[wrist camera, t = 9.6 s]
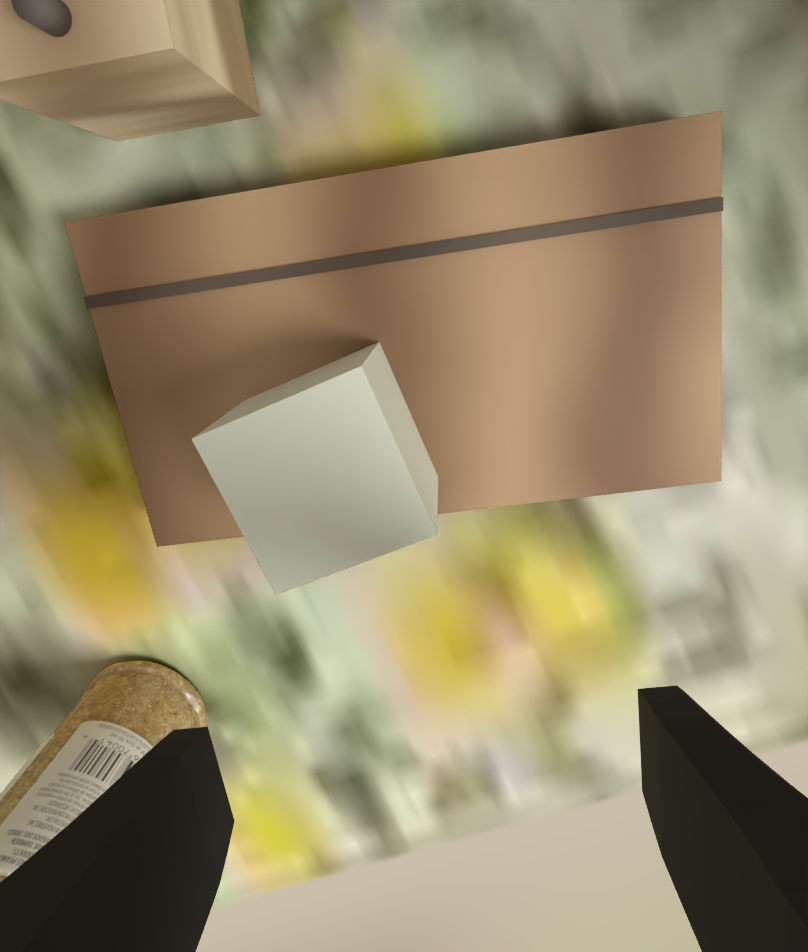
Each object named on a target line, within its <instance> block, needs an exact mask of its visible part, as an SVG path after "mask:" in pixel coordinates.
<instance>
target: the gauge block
mask: <svg viewBox="0 0 808 952" xmlns="http://www.w3.org/2000/svg"><path fill="white" fill-rule="evenodd" d="M0 100H3V101H6V102H9V103H12V104H14V105H17V106H20V107H23V108H26V109H28V110H31V111H34V112H37V113H40V114H43V115H45V116H48V117H51V118H54V119H57V120H59V121H62V122H65V123H68V124H71V125H73V126H76V127H79V128H82V129H85V130H88V131H90V132H93V133H96V134H99V135H102V136H104V137H107V138H110V139H113V140H116V141H122V140H128V139H133V138H139V137H144V136H150V135H155V134H161V133H166V132H172V131H177V130H183V129H188V128H194V127H200V126H205V125H211V124H216V123H222V122H227V121H233V120H238V119H244V118H249V117H255V116H261V115H260V110H259V104H258V99H257V94H256V89H255V83H254V78H253V73H252V68H251V63H250V57H249V52H248V47H247V42H246V36H245V31H244V26H243V21H242V15H241V10H240V5H239V0H0Z"/></svg>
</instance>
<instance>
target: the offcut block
mask: <svg viewBox="0 0 808 952" xmlns="http://www.w3.org/2000/svg"><path fill="white" fill-rule="evenodd" d="M192 441H193V443H194V445H195V447H196V449H197V450H198V452H199V454H200V456H201V458H202V460H203V462H204V463H205V465H206V467H207V469H208V471H209V473H210V475H211V476H212V478H213V480H214V482H215V484H216V486H217V488H218V489H219V491H220V493H221V495H222V497H223V499H224V500H225V502H226V504H227V506H228V508H229V510H230V512H231V513H232V515H233V517H234V519H235V521H236V523H237V525H238V526H239V528H240V530H241V532H242V534H243V536H244V538H245V539H246V541H247V543H248V545H249V547H250V549H251V551H252V552H253V554H254V556H255V558H256V560H257V562H258V563H259V565H260V567H261V569H262V571H263V573H264V575H265V576H266V578H267V580H268V582H269V584H270V586H271V588H272V589H273V591H274V593H275V595H277V594H279V593H282V592H285V591H287V590H290V589H293V588H296V587H298V586H301V585H304V584H306V583H309V582H312V581H314V580H317V579H320V578H322V577H325V576H328V575H330V574H333V573H336V572H338V571H341V570H344V569H346V568H349V567H352V566H354V565H357V564H360V563H363V562H365V561H368V560H371V559H373V558H376V557H379V556H381V555H384V554H387V553H389V552H392V551H395V550H397V549H400V548H403V547H405V546H408V545H411V544H413V543H416V542H419V541H422V540H424V539H427V538H430V537H432V536H435V535H437V511H438V475H437V473H436V471H435V468H434V466H433V464H432V462H431V459H430V457H429V455H428V452H427V450H426V448H425V446H424V443H423V441H422V439H421V436H420V434H419V432H418V429H417V427H416V425H415V423H414V420H413V418H412V416H411V413H410V411H409V409H408V406H407V404H406V402H405V400H404V397H403V395H402V393H401V390H400V388H399V386H398V383H397V381H396V379H395V377H394V374H393V372H392V370H391V367H390V365H389V363H388V361H387V358H386V356H385V354H384V351H383V349H382V347H381V344H380V342H378V343H375V344H373V345H371V346H368V347H366V348H364V349H361V350H359V351H357V352H355V353H352V354H350V355H348V356H345V357H343V358H341V359H338V360H336V361H334V362H332V363H329V364H327V365H325V366H322V367H320V368H318V369H315V370H313V371H311V372H309V373H306V374H304V375H302V376H299V377H297V378H295V379H292V380H290V381H288V382H286V383H283V384H281V385H279V386H276V387H274V388H272V389H269V390H267V391H265V392H263V393H260V394H258V395H256V396H253V397H251V398H249V399H246V400H244V401H243V402H242V403H240V404H239V405H237V406H236V407H235V408H233V409H232V410H231V411H229V412H228V413H226V414H225V415H224V416H222V417H221V418H220V419H218V420H217V421H215V422H214V423H213V424H211V425H210V426H209V427H207V428H206V429H204V430H203V431H202V432H200V433H199V434H198V435H196V436H195V437H193V438H192Z"/></svg>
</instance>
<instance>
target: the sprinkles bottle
mask: <svg viewBox="0 0 808 952" xmlns="http://www.w3.org/2000/svg"><path fill="white" fill-rule="evenodd" d="M207 726H208V721H207V711H206V708H205V706H204V702H203V700H202V698H201V695H200V694H199V693H198V691H197V690H196V689H195V687H194V686H193V685H192V684H190V682H189V681H187V680H186V679H184V678H183V677H182V676H181V675H180V674H178V673H176V672H175V671H173V670H171V669H169V668H167V667H165V666H163V665H161V664H157V663H153V662H149V661H126V662H120V663H115V664H112V665H110V666H109V667H107V668H105V669H104V670H102V671H101V672H100V673H98V674H97V675H96V676H95V677H94V678H93V679H92V681H91V682H90V683H89V685H88V686H87V687H86V688H85V690H84V692H83V694H82V697H81V699H80V700H79V701H78V702H77V704H76V705H75V706H74V707H73V709H72V710H71V711H70V713H69V714H68V715H67V716H66V717H65V719H64V720H63V721H62V723H61V724H60V725H59V726H58V728H57V729H56V730H55V732H54V733H53V734H52V735H50V736H49V737H48V738H46V739H45V740H44V741H43V743H42V744H41V745H40V746H39V747H38V748H37V750H36V751H35V752H34V753H33V754H32V756H31V757H30V758H29V759H28V760H27V762H26V763H25V764H24V765H23V767H22V768H21V769H20V770H19V772H18V773H17V774H16V775H15V777H14V778H13V779H12V780H11V781H10V783H9V784H8V785H7V786H6V788H5V789H4V790H3V791H2V793H1V794H0V882H1V881H3V880H4V879H5V878H6V877H8V876H9V875H10V874H11V873H12V872H14V871H15V870H16V869H17V868H18V867H19V866H21V865H22V864H23V863H24V862H25V861H27V860H28V859H29V858H30V857H31V856H32V855H34V854H35V853H36V852H37V851H38V850H39V849H41V848H42V847H43V846H44V845H45V844H46V843H48V842H49V841H50V840H51V839H52V838H53V837H55V836H56V835H57V834H58V833H59V832H60V831H62V830H63V829H64V828H65V827H66V826H68V825H69V824H70V823H71V822H72V821H73V820H74V819H75V818H77V817H78V816H79V815H80V814H81V813H82V812H83V811H84V810H85V809H86V808H87V807H89V806H90V805H91V804H92V803H93V802H94V801H95V800H96V799H97V798H98V797H100V796H101V795H102V794H103V793H104V792H105V791H106V790H107V789H108V788H109V787H110V786H112V785H113V784H114V783H115V782H116V781H117V780H118V779H119V778H120V777H121V776H122V775H123V774H125V773H126V772H127V771H128V770H129V769H130V768H131V767H132V766H133V765H134V764H135V763H136V762H137V761H139V760H140V759H141V758H142V757H143V756H144V755H145V754H146V753H147V752H148V751H149V750H151V749H152V748H153V747H154V746H155V745H156V744H157V743H158V742H160V741H161V740H162V739H163V738H164V737H165V736H167V735H168V734H169V733H170V732H171V731H173V730H176V729H187V728H199V727H207Z"/></svg>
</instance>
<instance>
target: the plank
mask: <svg viewBox="0 0 808 952" xmlns="http://www.w3.org/2000/svg"><path fill="white" fill-rule="evenodd" d="M721 211H723V197H722V198H721V111H719V112H713V113H707V114H701V115H695V116H689V117H683V118H677V119H671V120H665V121H660V122H654V123H648V124H642V125H636V126H630V127H624V128H618V129H612V130H606V131H600V132H594V133H588V134H583V135H577V136H571V137H565V138H559V139H553V140H547V141H541V142H535V143H529V144H523V145H517V146H511V147H505V148H500V149H494V150H488V151H482V152H476V153H470V154H464V155H458V156H452V157H446V158H440V159H434V160H428V161H423V162H417V163H411V164H405V165H399V166H393V167H387V168H381V169H375V170H369V171H363V172H357V173H351V174H346V175H340V176H334V177H328V178H322V179H316V180H310V181H304V182H298V183H292V184H286V185H280V186H274V187H269V188H263V189H257V190H251V191H245V192H239V193H233V194H227V195H221V196H215V197H209V198H203V199H197V200H192V201H186V202H180V203H174V204H168V205H162V206H156V207H150V208H144V209H138V210H132V211H126V212H120V213H114V214H109V215H103V216H97V217H91V218H85V219H79V220H73V221H67V222H65V225H66V228H67V232H68V235H69V239H70V243H71V246H72V250H73V253H74V257H75V260H76V264H77V267H78V271H79V274H80V278H81V281H82V285H83V288H84V292H85V295H86V297H84V299H85V302H86V306H87V309H90V313H91V316H92V320H93V323H94V327H95V330H96V334H97V338H98V341H99V345H100V348H101V352H102V355H103V359H104V362H105V366H106V369H107V373H108V376H109V380H110V383H111V387H112V390H113V394H114V397H115V401H116V404H117V408H118V411H119V415H120V418H121V422H122V426H123V429H124V433H125V436H126V440H127V443H128V447H129V450H130V454H131V457H132V461H133V464H134V468H135V471H136V475H137V478H138V482H139V485H140V489H141V492H142V496H143V499H144V503H145V506H146V510H147V513H148V517H149V521H150V524H151V528H152V531H153V535H154V538H155V542H156V545H157V547H158V546H166V545H175V544H184V543H192V542H201V541H210V540H218V539H227V538H235V537H244V536H243V534H242V532H241V530H240V528H239V526H238V525H237V523H236V521H235V519H234V517H233V515H232V513H231V512H230V510H229V508H228V506H227V504H226V502H225V500H224V499H223V497H222V495H221V493H220V491H219V489H218V488H217V486H216V484H215V482H214V480H213V478H212V476H211V475H210V473H209V471H208V469H207V467H206V465H205V463H204V462H203V460H202V458H201V456H200V454H199V452H198V450H197V449H196V447H195V445H194V443H193V441H192V438H193V437H195V436H196V435H198V434H199V433H200V432H202V431H203V430H204V429H206V428H207V427H209V426H210V425H211V424H213V423H214V422H215V421H217V420H218V419H220V418H221V417H222V416H224V415H225V414H226V413H228V412H229V411H231V410H232V409H233V408H235V407H236V406H237V405H239V404H240V403H242V402H243V401H244V400H246V399H249V398H251V397H253V396H256V395H258V394H260V393H263V392H265V391H267V390H269V389H272V388H274V387H276V386H279V385H281V384H283V383H286V382H288V381H290V380H292V379H295V378H297V377H299V376H302V375H304V374H306V373H309V372H311V371H313V370H315V369H318V368H320V367H322V366H325V365H327V364H329V363H332V362H334V361H336V360H338V359H341V358H343V357H345V356H348V355H350V354H352V353H355V352H357V351H359V350H361V349H364V348H366V347H368V346H371V345H373V344H375V343H378V342H380V344H381V347H382V349H383V351H384V354H385V356H386V358H387V361H388V363H389V365H390V367H391V370H392V372H393V374H394V377H395V379H396V381H397V383H398V386H399V388H400V390H401V393H402V395H403V397H404V400H405V402H406V404H407V406H408V409H409V411H410V413H411V416H412V418H413V420H414V423H415V425H416V427H417V429H418V432H419V434H420V436H421V439H422V441H423V443H424V446H425V448H426V450H427V452H428V455H429V457H430V459H431V462H432V464H433V466H434V468H435V471H436V473H437V475H438V511H437V514H442V513H451V512H459V511H468V510H477V509H485V508H494V507H502V506H511V505H520V504H528V503H537V502H545V501H554V500H563V499H571V498H580V497H589V496H597V495H606V494H614V493H623V492H632V491H640V490H649V489H657V488H666V487H675V486H683V485H692V484H701V483H709V482H718V481H721Z"/></svg>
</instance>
